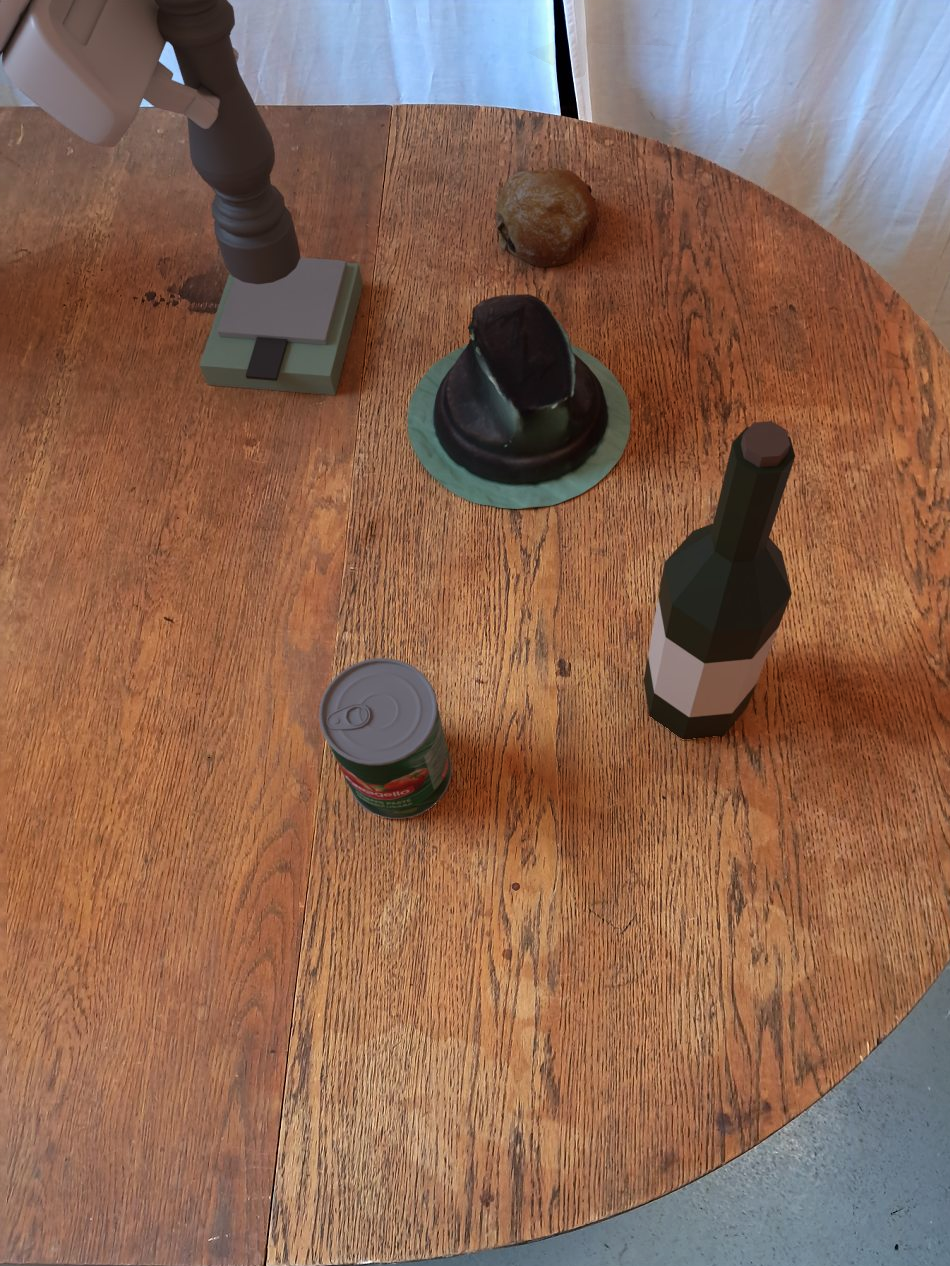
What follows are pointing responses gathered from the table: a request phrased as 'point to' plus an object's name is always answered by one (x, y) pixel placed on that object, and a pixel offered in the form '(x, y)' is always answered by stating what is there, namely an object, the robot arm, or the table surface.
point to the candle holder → (231, 145)
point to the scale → (285, 329)
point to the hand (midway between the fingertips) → (224, 93)
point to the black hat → (518, 411)
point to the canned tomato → (387, 737)
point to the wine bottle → (722, 596)
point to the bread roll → (546, 216)
